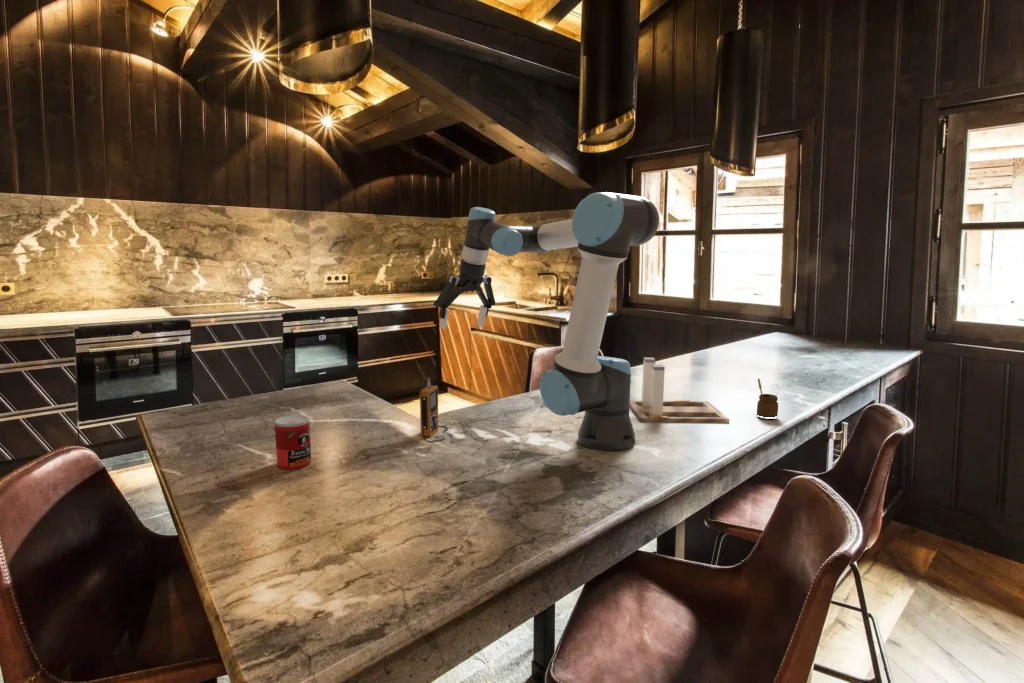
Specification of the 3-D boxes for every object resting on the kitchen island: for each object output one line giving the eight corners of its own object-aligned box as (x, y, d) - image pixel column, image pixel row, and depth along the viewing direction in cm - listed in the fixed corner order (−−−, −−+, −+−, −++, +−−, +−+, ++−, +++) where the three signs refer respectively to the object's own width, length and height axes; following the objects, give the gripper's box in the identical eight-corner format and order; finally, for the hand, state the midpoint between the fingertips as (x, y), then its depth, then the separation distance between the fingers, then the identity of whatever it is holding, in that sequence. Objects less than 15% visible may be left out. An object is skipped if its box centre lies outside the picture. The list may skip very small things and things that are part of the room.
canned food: (291, 472, 132) (289, 426, 130) (269, 465, 136) (267, 420, 134) (318, 462, 138) (316, 418, 137) (297, 456, 143) (294, 413, 141)
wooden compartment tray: (639, 425, 169) (640, 416, 168) (627, 407, 189) (628, 399, 188) (728, 426, 168) (729, 417, 168) (707, 408, 188) (707, 400, 188)
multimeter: (451, 444, 152) (450, 370, 149) (415, 441, 154) (414, 368, 151) (466, 427, 166) (466, 360, 163) (433, 425, 168) (432, 358, 165)
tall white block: (643, 408, 183) (645, 359, 180) (641, 405, 186) (643, 357, 184) (653, 408, 183) (655, 359, 180) (650, 406, 186) (653, 357, 184)
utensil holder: (774, 421, 174) (777, 383, 172) (753, 418, 177) (755, 380, 176) (779, 417, 178) (782, 379, 176) (758, 413, 182) (760, 376, 180)
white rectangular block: (652, 419, 171) (654, 366, 168) (649, 416, 174) (651, 364, 172) (662, 419, 171) (664, 367, 168) (659, 416, 174) (661, 364, 172)
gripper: (501, 257, 179) (488, 320, 187) (430, 256, 164) (420, 324, 172) (514, 265, 174) (501, 329, 182) (443, 264, 159) (431, 334, 167)
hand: (461, 326), depth 177 cm, fingers open, 13 cm apart
